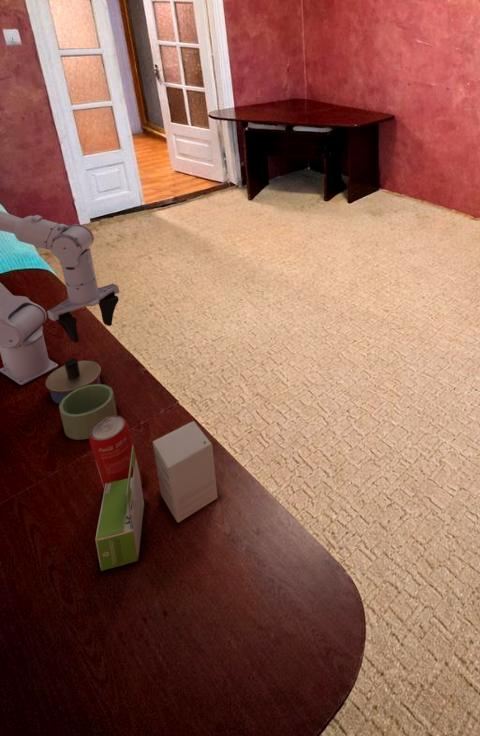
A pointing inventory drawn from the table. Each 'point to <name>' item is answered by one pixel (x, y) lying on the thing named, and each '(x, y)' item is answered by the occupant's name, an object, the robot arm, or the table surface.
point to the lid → (73, 376)
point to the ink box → (121, 520)
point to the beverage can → (112, 449)
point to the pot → (86, 409)
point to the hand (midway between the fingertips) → (91, 332)
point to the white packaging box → (185, 470)
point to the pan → (60, 396)
